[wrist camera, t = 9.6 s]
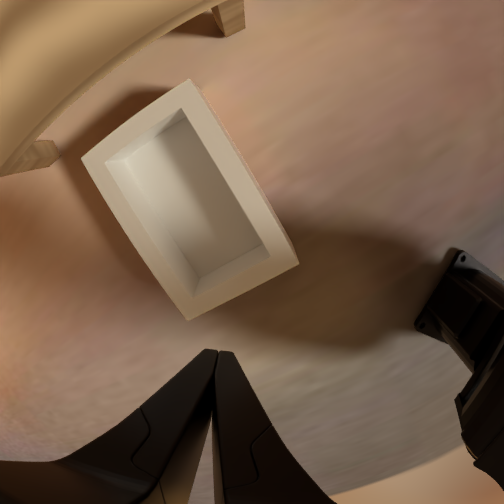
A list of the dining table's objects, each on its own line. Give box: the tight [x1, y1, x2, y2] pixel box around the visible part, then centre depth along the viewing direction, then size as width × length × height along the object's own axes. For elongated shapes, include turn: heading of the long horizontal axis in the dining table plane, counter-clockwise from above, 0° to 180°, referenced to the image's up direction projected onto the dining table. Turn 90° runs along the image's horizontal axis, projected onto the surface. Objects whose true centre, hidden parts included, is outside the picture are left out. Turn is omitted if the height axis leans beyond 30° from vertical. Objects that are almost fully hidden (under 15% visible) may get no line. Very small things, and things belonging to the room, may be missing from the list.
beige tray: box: [81, 78, 300, 321], centre depth 16 cm, size 10×6×4 cm, turn 30°
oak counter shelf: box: [0, 0, 245, 177], centre depth 11 cm, size 12×14×6 cm
